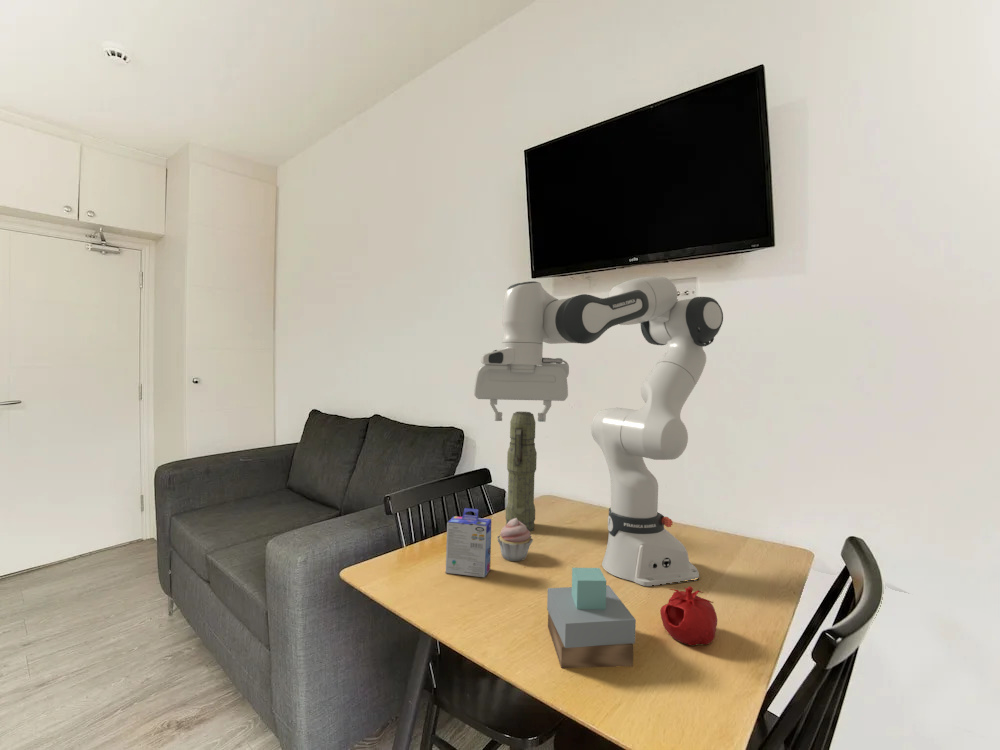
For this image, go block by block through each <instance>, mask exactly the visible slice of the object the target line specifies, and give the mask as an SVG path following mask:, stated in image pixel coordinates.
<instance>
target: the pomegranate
mask: <svg viewBox="0 0 1000 750" xmlns="http://www.w3.org/2000/svg"><path fill="white" fill-rule="evenodd" d="M684 589H685V590H684V591H683V590H678V589H675V588H674V589H671V588H669V590H670V591H674V592H673V593H672V595H671V597H670V598H669V599H668V602H667V603H666V604H664V605H662V606H661V607H660V618H661V621H662V624H663V628H664V629H665V630H666V632H667V633H668V635H670V636H671V637H672V638H673V639H674V640H676V641H678V642H680V643H682V644H684V643H685V644H684V645H687V644H688V645H687V646H691V645H696V644H705V645H704V646H706V644H707V645H709V644H712V642H713V641H714V639H715V636H716V631H717V627H718V616H717V615H718V614H717V613H716V609H715V607H714V606H713V603H714V601H711V600H708V599H706V598H704V597H701V596H699V595H698V593H701V594H703V593H704V591H701V590H699V589H697V590H696V591H694V587H692V586H691V585H690V586H687V587H684ZM693 591H694V592H693ZM696 646H697V645H696Z"/></svg>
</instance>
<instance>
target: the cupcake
mask: <svg viewBox="0 0 1000 750" xmlns="http://www.w3.org/2000/svg"><path fill="white" fill-rule="evenodd" d="M533 541H534V539H533V538H532V535H531V531H529V530H528V529H527V527H526V526H525V525H524V524H523V523H521V522H520V521H518V519H517V518H515V519H512V520H510V521H509V522H508V523H507V525H506V524H505V525H504V526H503V527H502V528H501V530H500V533H499V535H497V542H498V545H499V546H500V553H501V557H502V558H503V559H504V560H506V561H509V562H520V561H524V560H526V558H527V556H528V553H529V550H530V549H529V548H530V546H531V544H532V543H533Z"/></svg>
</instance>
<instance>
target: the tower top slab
mask: <svg viewBox="0 0 1000 750" xmlns="http://www.w3.org/2000/svg"><path fill="white" fill-rule="evenodd" d="M546 603H547V604H546V605H547V606H546V610H547V613H548V612H549V614H550V616H551V619H552V621H553V623H554V625H555V627H556V629H557V632H558V634H559V636H560V638H561V640H562V643H563V645H564V647H565V648H572V647H587V646H602V645H617V644H633V645H634V644H636V628H637V627H636V622H637V619H636V618H635V617H634V615H633V614H632V612H630V611H629V609H628V608H627V607H626V606H625V604H624V603H623V601H622V600H621V599H620V598H619V597H618V595H617V594H616V592H615V591H614V590H613V589H612V587H611V586H610V585H608V584H606V609H577V608H576V606H575V603H574V600H573V597H572V586H566V587H563V586H562V587H547V602H546Z"/></svg>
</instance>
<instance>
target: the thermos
mask: <svg viewBox="0 0 1000 750" xmlns="http://www.w3.org/2000/svg"><path fill="white" fill-rule="evenodd" d="M509 422H510V423H509V426H510V427H509V428H510V429H509V438H510V442H509V447H508V450H507V458H506V459H507V460H506V461H507V462H506V465H507V466H506V470H507V472H508V475H507V476H508V479H507V480H508V482H507V488H508V489H507V504H506V508H505V525H507V523H508V522H509V521H510V520H512V519H515V518H517V519H518V521H520V522H521V523H523V524H524V525H525V526H526V527H527V529H528V530H529V531H530V532H532V531H534V529H535V521H536V506H535V503H534V502H535V473H536V471H537V458H538V457H537V456H538V455H537V453H538V452H537V449H536V443H535V439H536V419H535V417H534V414H533V413H532V412H530V411H515V412H514V413H512V416H511V419H510V421H509Z"/></svg>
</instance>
